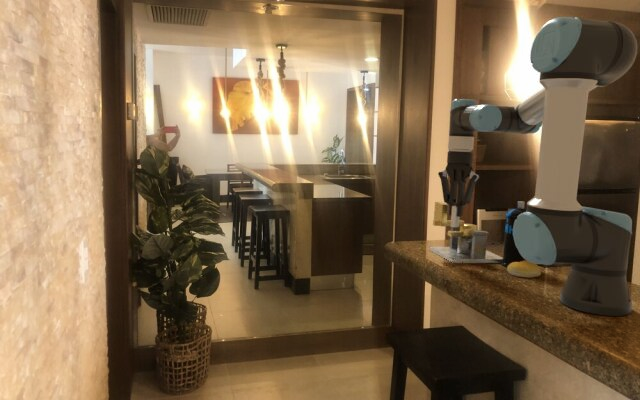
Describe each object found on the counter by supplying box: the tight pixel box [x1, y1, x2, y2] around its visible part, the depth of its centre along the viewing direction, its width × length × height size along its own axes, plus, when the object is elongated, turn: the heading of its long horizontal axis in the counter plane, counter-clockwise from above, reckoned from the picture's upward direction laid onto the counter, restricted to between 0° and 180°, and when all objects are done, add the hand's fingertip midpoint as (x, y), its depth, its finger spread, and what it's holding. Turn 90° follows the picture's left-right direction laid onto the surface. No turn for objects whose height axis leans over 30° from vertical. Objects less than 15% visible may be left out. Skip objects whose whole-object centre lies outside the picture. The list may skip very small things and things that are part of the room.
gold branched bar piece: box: [432, 201, 489, 238], centre depth 173 cm, size 6×18×11 cm, turn 101°
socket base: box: [429, 226, 503, 264], centre depth 174 cm, size 18×18×10 cm
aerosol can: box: [501, 201, 526, 268], centre depth 163 cm, size 8×8×20 cm
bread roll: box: [506, 260, 542, 279], centre depth 154 cm, size 8×9×4 cm
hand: (454, 226), depth 166 cm, fingers closed
